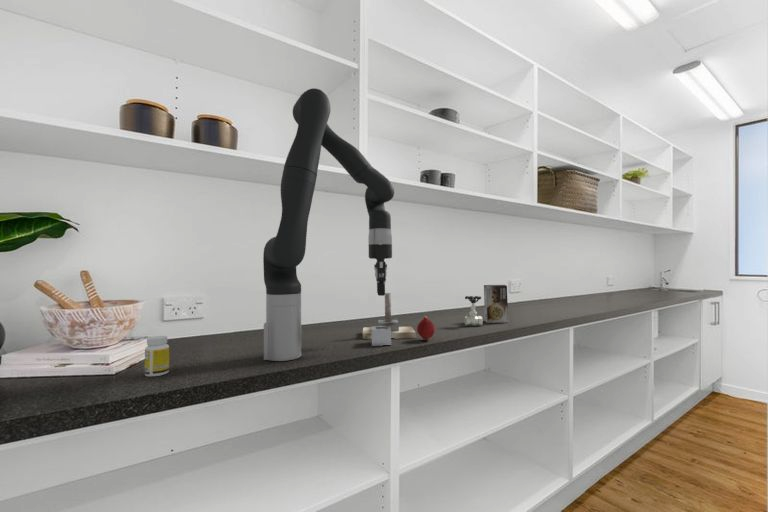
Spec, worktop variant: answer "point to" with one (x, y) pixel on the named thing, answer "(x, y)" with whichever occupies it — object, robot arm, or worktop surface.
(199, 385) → the worktop surface
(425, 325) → the onion
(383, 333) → the block
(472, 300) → the valve
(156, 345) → the supplement bottle
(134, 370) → the worktop surface
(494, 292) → the coffee box
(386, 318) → the shaft stand
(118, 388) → the worktop surface
